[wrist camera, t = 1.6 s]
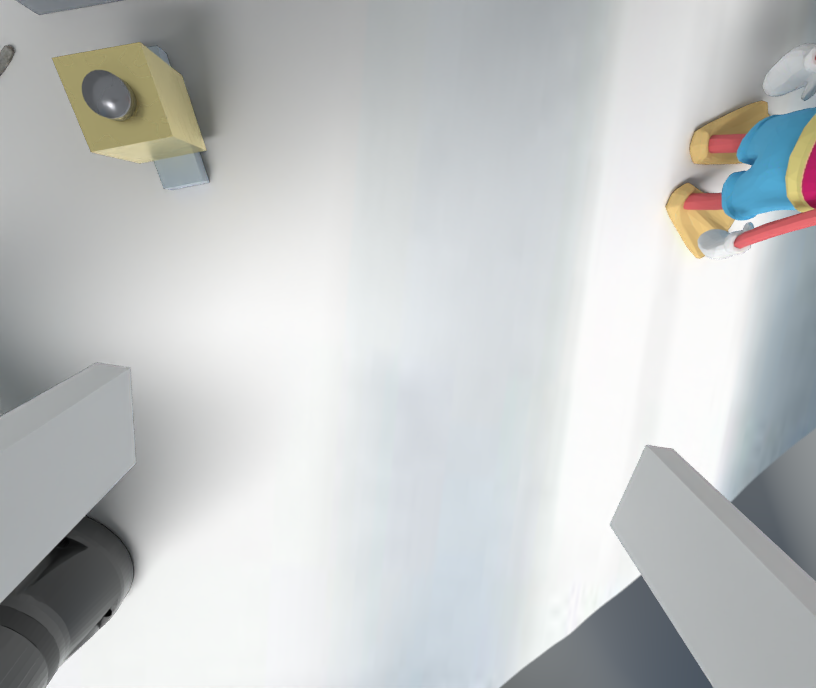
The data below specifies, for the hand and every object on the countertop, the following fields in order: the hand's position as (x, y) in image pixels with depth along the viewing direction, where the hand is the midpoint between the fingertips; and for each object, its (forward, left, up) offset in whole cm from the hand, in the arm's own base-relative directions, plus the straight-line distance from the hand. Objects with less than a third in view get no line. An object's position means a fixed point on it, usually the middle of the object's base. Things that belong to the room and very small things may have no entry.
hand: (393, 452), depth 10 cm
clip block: (-12, +15, -26) cm, 33 cm away
